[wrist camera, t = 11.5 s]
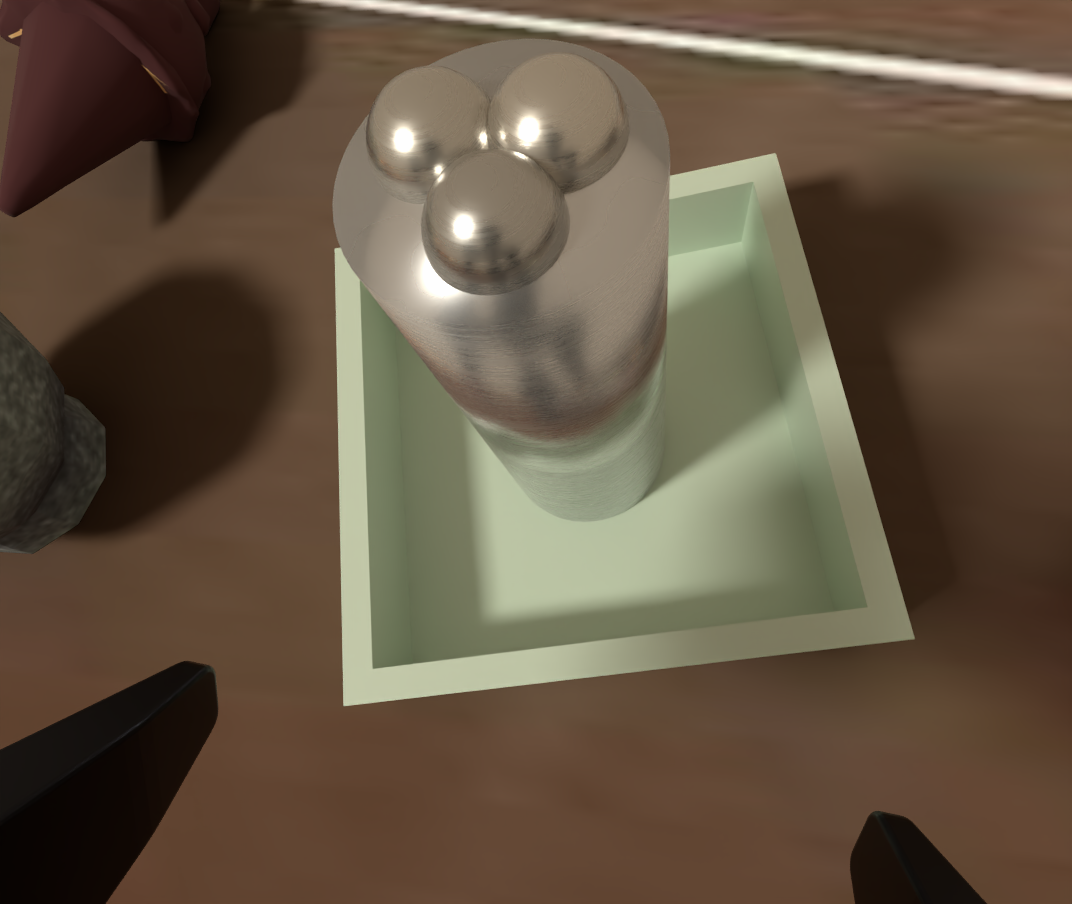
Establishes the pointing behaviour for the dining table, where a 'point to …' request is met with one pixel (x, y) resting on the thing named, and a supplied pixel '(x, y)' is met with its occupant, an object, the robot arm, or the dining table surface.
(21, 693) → the dining table surface
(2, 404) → the mortar and pestle
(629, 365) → the cylinder with three balls
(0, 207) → the icecream
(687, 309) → the pale green bin
